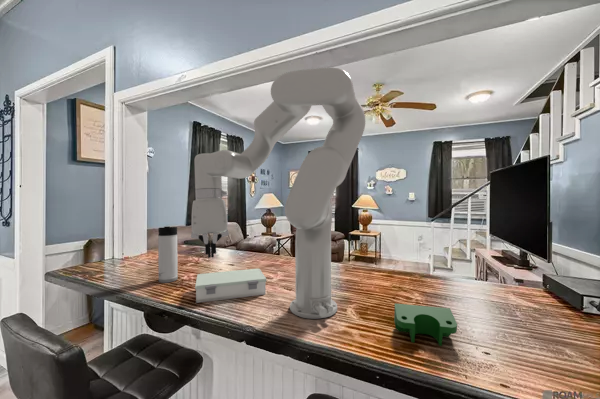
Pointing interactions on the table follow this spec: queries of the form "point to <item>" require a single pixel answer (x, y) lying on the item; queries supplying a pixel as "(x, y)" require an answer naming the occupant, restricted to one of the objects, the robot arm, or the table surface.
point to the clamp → (424, 321)
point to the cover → (229, 278)
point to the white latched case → (230, 292)
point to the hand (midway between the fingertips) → (210, 256)
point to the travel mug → (167, 254)
